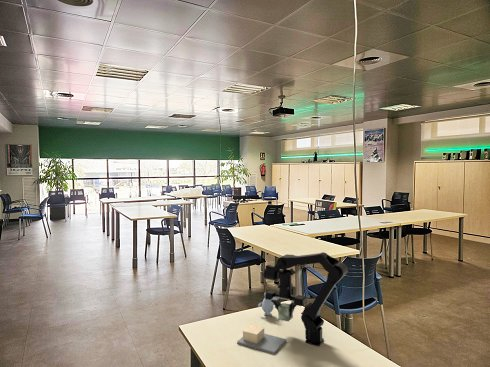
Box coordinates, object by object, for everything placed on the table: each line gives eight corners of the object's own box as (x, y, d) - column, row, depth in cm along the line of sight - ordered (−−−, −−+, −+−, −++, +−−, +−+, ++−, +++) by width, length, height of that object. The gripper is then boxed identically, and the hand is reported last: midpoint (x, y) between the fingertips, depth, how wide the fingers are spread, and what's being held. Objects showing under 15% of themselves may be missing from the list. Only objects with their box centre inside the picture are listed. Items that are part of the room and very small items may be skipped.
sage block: (292, 317, 157) (292, 304, 157) (288, 321, 153) (288, 308, 152) (282, 315, 160) (282, 302, 159) (278, 319, 155) (278, 306, 155)
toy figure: (278, 313, 177) (278, 291, 177) (276, 318, 171) (276, 295, 171) (259, 311, 180) (258, 289, 180) (256, 316, 174) (256, 294, 174)
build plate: (286, 341, 149) (285, 330, 149) (274, 354, 138) (274, 342, 138) (250, 332, 158) (250, 321, 158) (237, 343, 148) (237, 332, 147)
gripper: (310, 280, 158) (310, 313, 158) (274, 274, 167) (274, 305, 168) (302, 288, 148) (302, 322, 149) (264, 281, 157) (264, 314, 158)
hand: (285, 315), depth 156 cm, fingers closed on sage block, 5 cm apart
